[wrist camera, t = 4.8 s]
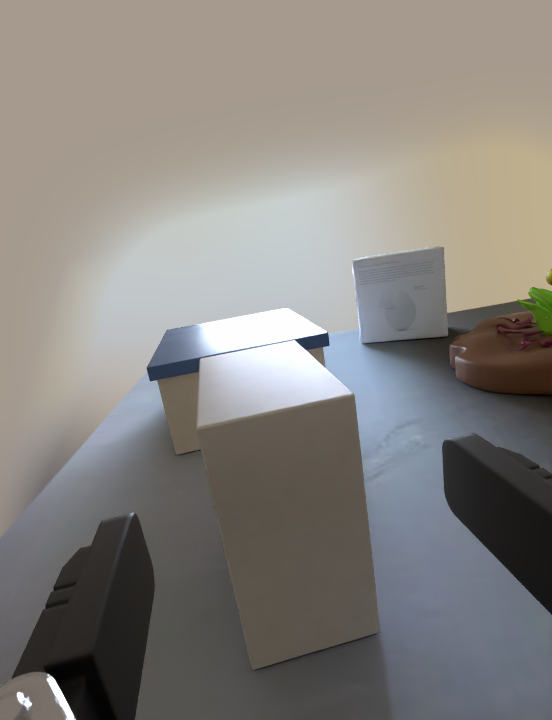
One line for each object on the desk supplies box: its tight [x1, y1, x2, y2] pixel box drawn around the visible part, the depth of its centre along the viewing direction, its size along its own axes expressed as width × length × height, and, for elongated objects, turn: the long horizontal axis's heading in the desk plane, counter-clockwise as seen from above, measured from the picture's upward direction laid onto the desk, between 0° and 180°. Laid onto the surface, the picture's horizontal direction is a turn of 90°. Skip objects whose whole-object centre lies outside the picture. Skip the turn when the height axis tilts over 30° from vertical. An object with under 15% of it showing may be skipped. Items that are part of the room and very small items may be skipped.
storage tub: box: [147, 308, 329, 455], centre depth 35 cm, size 13×15×7 cm
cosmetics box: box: [352, 247, 448, 343], centre depth 50 cm, size 10×6×10 cm, turn 73°
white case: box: [196, 340, 380, 670], centre depth 16 cm, size 5×8×9 cm, turn 10°
